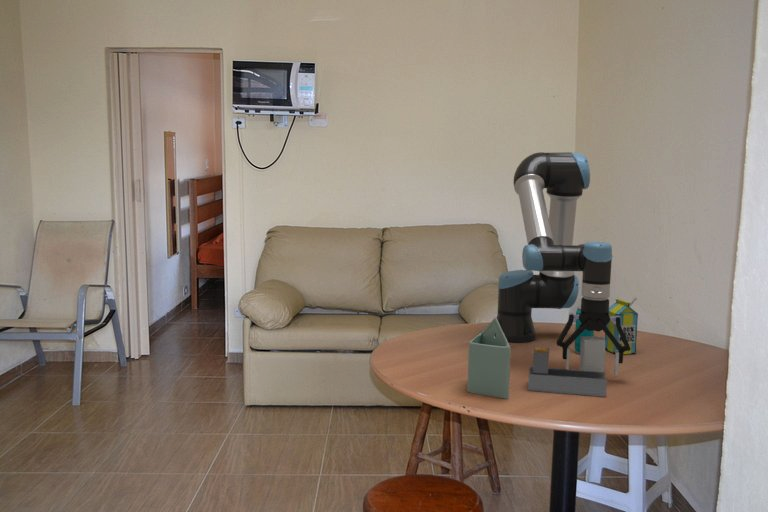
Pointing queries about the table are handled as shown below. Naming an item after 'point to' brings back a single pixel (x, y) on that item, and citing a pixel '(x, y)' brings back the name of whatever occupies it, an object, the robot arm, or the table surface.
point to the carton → (623, 326)
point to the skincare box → (592, 354)
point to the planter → (489, 362)
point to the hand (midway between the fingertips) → (591, 372)
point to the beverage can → (583, 334)
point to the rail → (563, 378)
